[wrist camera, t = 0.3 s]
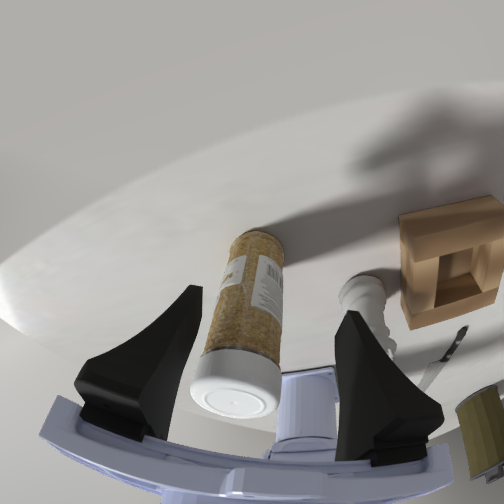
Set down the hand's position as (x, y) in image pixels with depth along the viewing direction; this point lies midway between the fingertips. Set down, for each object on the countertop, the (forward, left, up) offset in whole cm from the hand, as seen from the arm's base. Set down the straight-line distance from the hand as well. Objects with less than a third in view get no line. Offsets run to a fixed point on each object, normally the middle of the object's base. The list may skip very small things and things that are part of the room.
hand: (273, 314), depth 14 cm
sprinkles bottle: (-2, +2, -10) cm, 11 cm away
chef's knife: (-28, -16, -11) cm, 33 cm away
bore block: (-7, -15, -10) cm, 19 cm away
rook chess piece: (-9, -6, -10) cm, 15 cm away
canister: (-48, -31, -10) cm, 58 cm away
